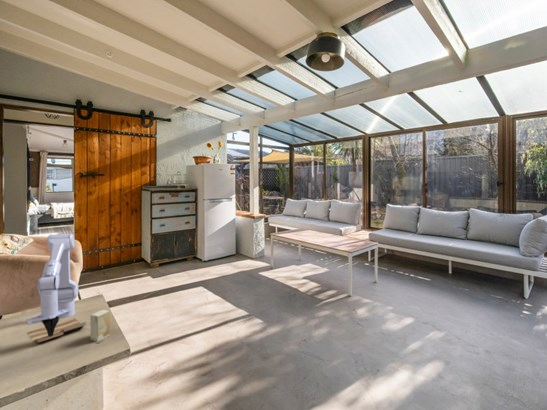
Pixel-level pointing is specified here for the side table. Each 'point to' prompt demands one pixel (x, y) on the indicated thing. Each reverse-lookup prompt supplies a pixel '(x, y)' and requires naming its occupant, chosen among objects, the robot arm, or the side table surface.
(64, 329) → the plank
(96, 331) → the skincare box
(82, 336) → the side table surface
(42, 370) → the side table surface
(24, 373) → the side table surface
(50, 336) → the plank
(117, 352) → the side table surface
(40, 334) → the laid oak row
